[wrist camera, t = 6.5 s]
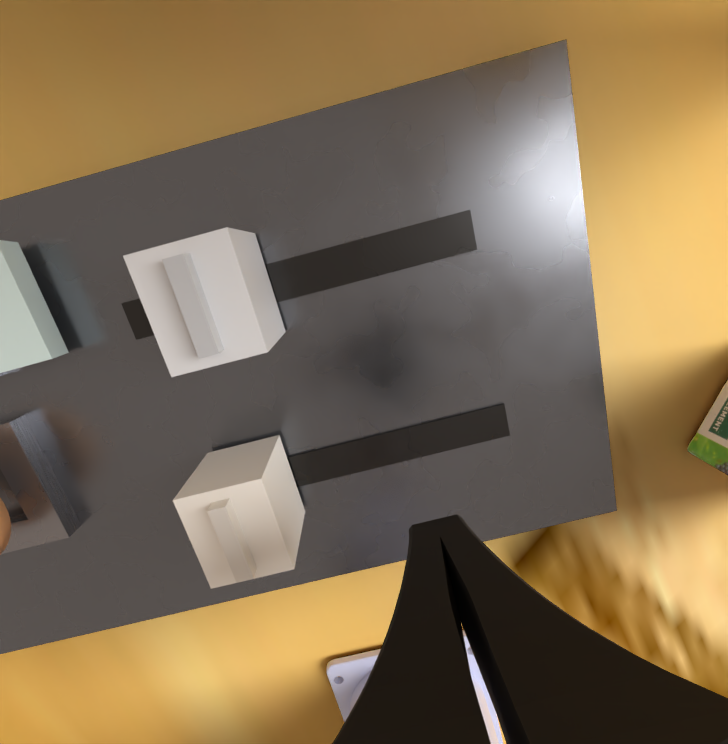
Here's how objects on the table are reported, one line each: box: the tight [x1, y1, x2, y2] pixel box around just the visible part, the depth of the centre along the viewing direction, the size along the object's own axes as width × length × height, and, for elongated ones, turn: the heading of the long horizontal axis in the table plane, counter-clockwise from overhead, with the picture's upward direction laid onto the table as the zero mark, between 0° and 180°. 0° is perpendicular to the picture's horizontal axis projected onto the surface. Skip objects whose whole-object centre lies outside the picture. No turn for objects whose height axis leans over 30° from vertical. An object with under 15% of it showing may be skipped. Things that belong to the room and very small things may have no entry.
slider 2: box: [173, 435, 305, 589], centre depth 16 cm, size 4×3×4 cm
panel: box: [0, 40, 617, 654], centre depth 17 cm, size 18×30×2 cm, turn 104°
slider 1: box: [123, 227, 286, 377], centre depth 13 cm, size 4×3×4 cm
